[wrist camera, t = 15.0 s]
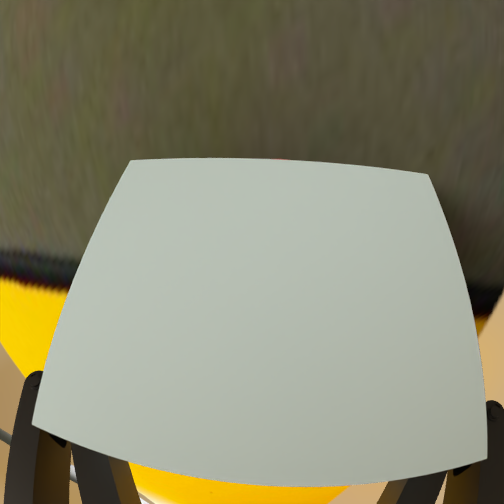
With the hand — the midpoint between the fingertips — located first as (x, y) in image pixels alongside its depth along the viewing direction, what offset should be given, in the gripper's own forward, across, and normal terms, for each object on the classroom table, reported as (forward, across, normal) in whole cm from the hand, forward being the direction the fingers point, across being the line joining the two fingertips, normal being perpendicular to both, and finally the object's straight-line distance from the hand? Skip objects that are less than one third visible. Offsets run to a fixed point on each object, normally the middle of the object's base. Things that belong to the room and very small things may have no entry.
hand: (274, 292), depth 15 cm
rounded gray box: (0, 0, +2) cm, 2 cm away
